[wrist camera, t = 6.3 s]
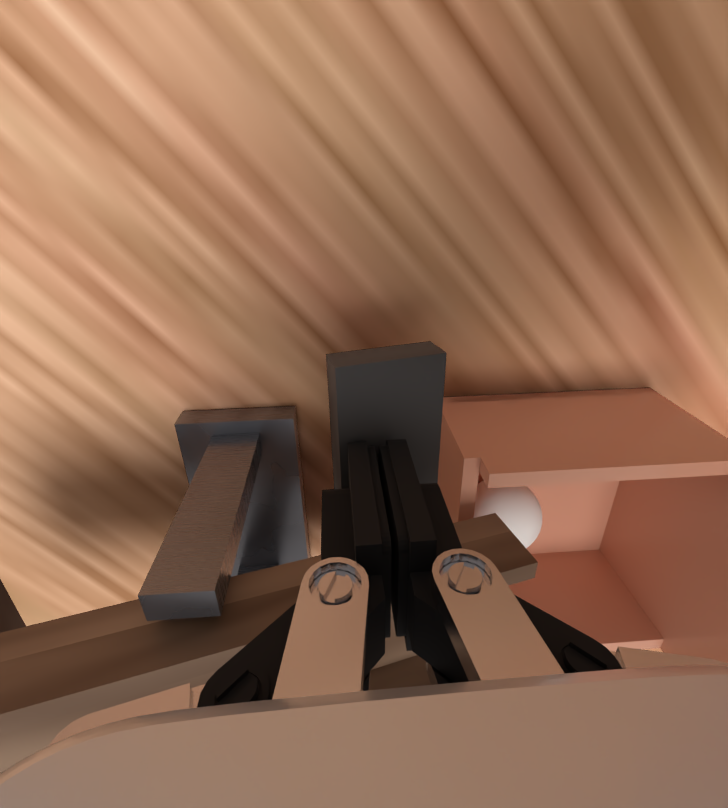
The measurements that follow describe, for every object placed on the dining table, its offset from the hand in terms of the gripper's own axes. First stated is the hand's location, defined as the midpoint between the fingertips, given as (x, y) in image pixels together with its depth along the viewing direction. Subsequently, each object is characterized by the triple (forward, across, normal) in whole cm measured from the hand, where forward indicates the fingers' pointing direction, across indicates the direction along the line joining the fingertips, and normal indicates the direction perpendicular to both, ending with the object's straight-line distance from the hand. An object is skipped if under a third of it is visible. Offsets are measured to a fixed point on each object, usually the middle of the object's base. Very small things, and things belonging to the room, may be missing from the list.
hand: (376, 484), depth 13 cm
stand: (+8, +5, +6) cm, 12 cm away
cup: (+8, -9, +6) cm, 13 cm away
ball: (+6, -6, +6) cm, 11 cm away
